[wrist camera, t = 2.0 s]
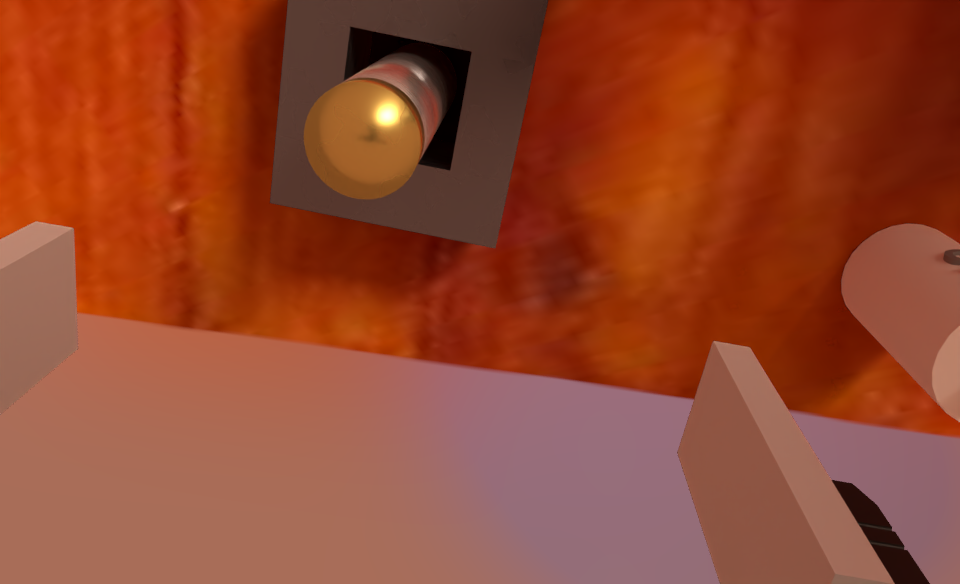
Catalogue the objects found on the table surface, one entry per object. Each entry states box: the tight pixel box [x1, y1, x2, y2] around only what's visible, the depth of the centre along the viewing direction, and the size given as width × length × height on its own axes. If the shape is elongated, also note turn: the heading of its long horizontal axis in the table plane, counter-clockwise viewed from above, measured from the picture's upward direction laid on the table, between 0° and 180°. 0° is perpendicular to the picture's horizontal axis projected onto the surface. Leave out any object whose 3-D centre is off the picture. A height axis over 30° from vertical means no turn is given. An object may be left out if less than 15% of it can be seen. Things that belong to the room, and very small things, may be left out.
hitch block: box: [270, 0, 548, 248], centre depth 38 cm, size 12×11×6 cm
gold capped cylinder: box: [304, 43, 457, 199], centre depth 33 cm, size 4×4×15 cm
